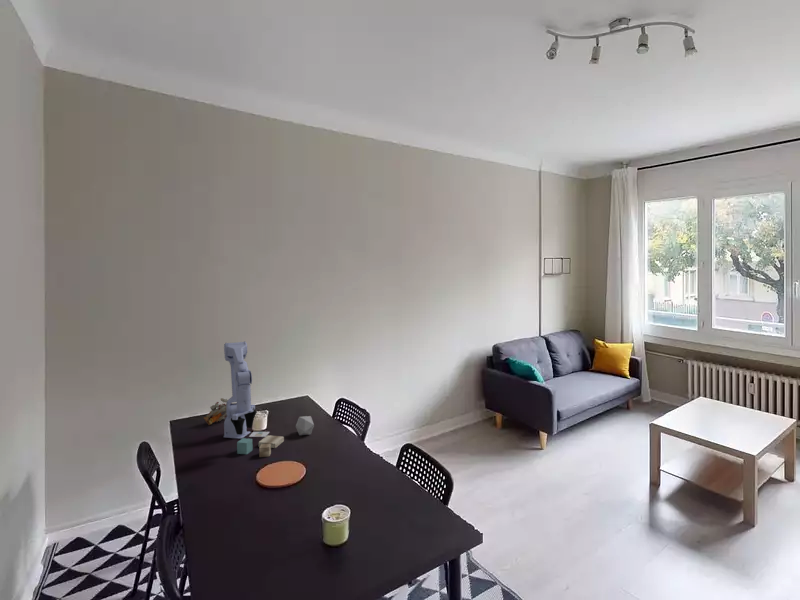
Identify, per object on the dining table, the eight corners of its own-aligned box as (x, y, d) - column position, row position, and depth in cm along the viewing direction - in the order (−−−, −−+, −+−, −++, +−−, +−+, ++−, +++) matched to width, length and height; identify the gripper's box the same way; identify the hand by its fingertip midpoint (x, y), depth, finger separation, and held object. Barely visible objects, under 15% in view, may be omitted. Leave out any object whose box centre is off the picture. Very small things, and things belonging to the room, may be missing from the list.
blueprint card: (248, 436, 197) (248, 436, 197) (253, 431, 203) (253, 431, 203) (265, 436, 197) (265, 436, 197) (269, 432, 203) (269, 431, 203)
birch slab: (258, 447, 186) (258, 442, 186) (267, 440, 194) (267, 435, 194) (275, 449, 185) (275, 443, 184) (283, 441, 192) (283, 436, 192)
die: (307, 440, 195) (318, 420, 199) (290, 430, 195) (302, 411, 198) (307, 439, 203) (318, 420, 207) (291, 430, 203) (302, 411, 206)
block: (259, 457, 176) (259, 447, 175) (261, 453, 180) (260, 444, 179) (269, 456, 176) (269, 447, 176) (270, 452, 180) (270, 443, 180)
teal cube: (237, 453, 179) (237, 442, 179) (243, 449, 183) (242, 438, 183) (246, 454, 178) (246, 443, 178) (252, 450, 183) (252, 438, 182)
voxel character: (207, 425, 216) (233, 407, 225) (217, 435, 211) (243, 415, 220) (199, 411, 210) (226, 392, 219) (209, 420, 204) (236, 401, 213)
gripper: (242, 405, 171) (243, 438, 172) (261, 395, 186) (261, 425, 186) (227, 404, 173) (228, 436, 174) (246, 394, 187) (247, 424, 188)
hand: (244, 430), depth 180 cm, fingers open, 7 cm apart
